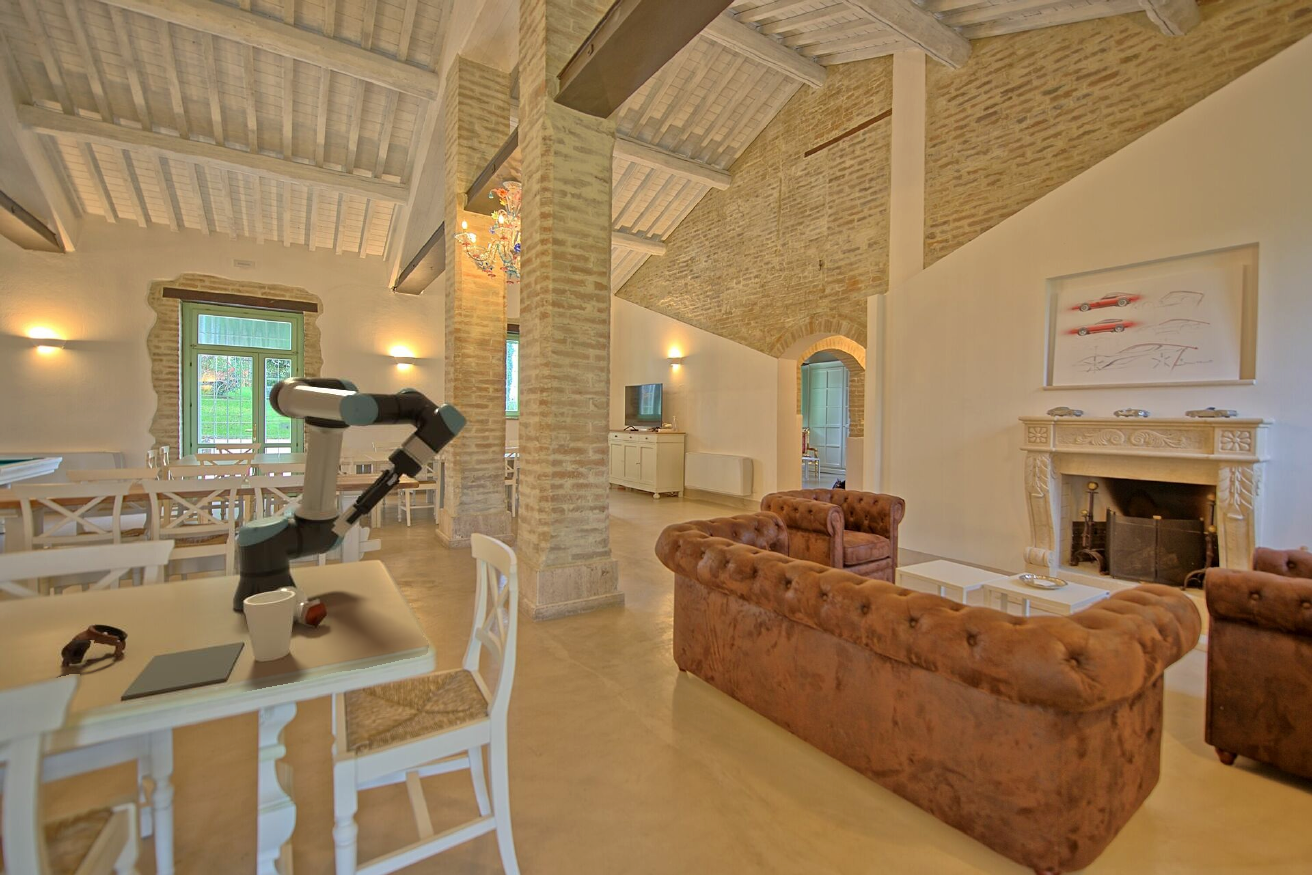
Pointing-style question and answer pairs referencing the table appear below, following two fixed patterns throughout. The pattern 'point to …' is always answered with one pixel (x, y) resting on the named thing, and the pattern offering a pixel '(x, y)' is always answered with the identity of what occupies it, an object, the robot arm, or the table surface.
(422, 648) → the table surface
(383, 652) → the table surface
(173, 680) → the mat
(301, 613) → the potion bottle
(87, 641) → the brown curved ring piece
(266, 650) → the foam cup
